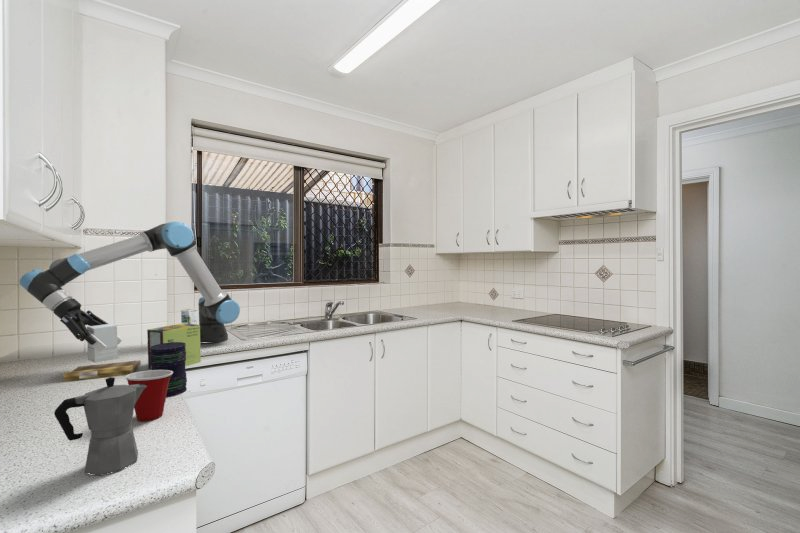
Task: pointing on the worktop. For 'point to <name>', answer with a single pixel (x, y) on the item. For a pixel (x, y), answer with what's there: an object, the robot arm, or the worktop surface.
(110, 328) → the supplement box
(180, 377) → the storage jar
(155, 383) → the plastic cup
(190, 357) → the protein box
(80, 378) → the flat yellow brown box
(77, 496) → the worktop surface
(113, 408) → the coffeepot
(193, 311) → the syrup box
